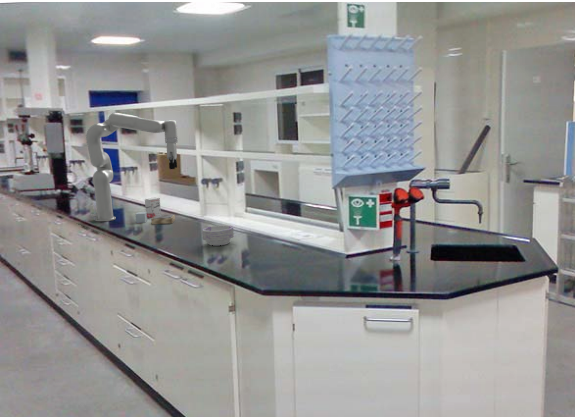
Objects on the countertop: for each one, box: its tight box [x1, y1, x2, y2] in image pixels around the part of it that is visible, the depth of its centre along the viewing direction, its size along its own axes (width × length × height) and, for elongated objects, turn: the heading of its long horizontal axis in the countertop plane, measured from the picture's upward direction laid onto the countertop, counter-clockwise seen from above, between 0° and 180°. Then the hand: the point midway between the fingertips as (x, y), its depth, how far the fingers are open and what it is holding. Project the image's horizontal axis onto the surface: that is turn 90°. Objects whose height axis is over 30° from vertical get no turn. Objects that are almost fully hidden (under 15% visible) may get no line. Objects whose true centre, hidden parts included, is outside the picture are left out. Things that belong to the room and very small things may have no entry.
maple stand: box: [150, 214, 176, 225], centre depth 337 cm, size 12×12×3 cm
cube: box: [134, 211, 148, 224], centre depth 340 cm, size 6×6×6 cm
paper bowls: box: [201, 225, 235, 247], centre depth 272 cm, size 15×15×8 cm
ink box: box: [144, 197, 162, 219], centre depth 356 cm, size 9×5×12 cm, turn 143°
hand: (173, 168), depth 347 cm, fingers open, 9 cm apart
